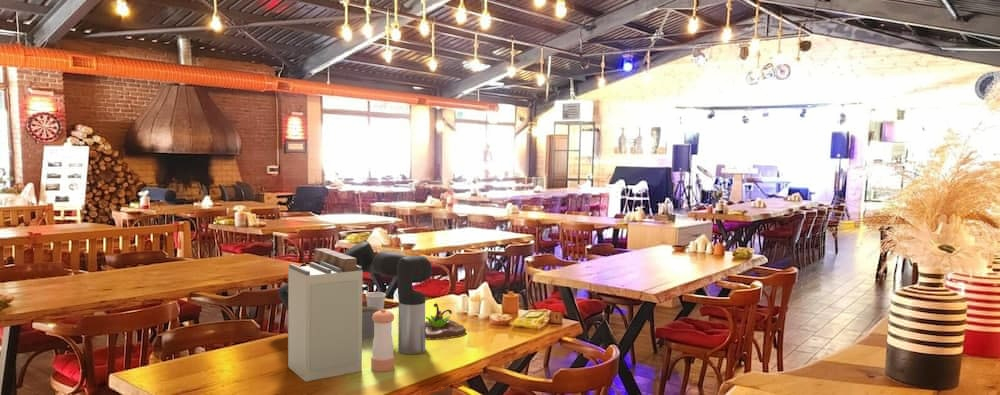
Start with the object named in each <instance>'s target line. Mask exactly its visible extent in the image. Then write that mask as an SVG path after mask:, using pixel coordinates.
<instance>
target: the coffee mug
mask: <svg viewBox="0 0 1000 395" xmlns="http://www.w3.org/2000/svg"><path fill="white" fill-rule="evenodd" d="M377 311H378V309H377V308H375V307H367V306H362V340H370V339H374V323H375V322H373V320H372V316H373V314H374V313H375V312H377Z"/></svg>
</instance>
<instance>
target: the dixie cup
mask: <svg viewBox="0 0 1000 395" xmlns="http://www.w3.org/2000/svg"><path fill="white" fill-rule="evenodd" d="M386 296H387V294H386V293H385V292H378V291H375V292H368V293H366V294H365V298H366V307H375V308H377V309H378V311H381V309H385V308H384V306H385V300H386Z"/></svg>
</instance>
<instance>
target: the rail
mask: <svg viewBox="0 0 1000 395" xmlns="http://www.w3.org/2000/svg"><path fill="white" fill-rule="evenodd" d="M313 251H314V252H313V253H314V254H313V255H314V256H313V257H314V258H313V260H314V261H313V262H317V263H319V264H320V262H321V261H323V262H326V263H329V264H331V265H334V266H336V267H339V268H342V272H352V271H356V269H357V258H354V257H351V256H348V255H345V254H343V252H339V251H336V250H333V249H330V248H325V247H324V248H314V249H313Z"/></svg>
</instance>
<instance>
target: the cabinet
mask: <svg viewBox="0 0 1000 395" xmlns="http://www.w3.org/2000/svg"><path fill="white" fill-rule="evenodd" d="M363 273H364V272H363V271H362V267H361V266H358V265H357V269H356V271H352V272H342V268H339V267H336V266H334V265H331V264H329V263H326V262H323V261H321V262H320V263H319V264H318V263H316V262H315V261H312V262H311V261H309V265H308V266H307V265H306V266H304V267H300V266H298V265H297V264H294V263H289V264H288V274H287V275H288V281H287V283H288V310H287V315H288V329H287V331H288V334H287V336H288V338H287V339H288V340H287V342H288V343H287V349H288V351H287V352H288V353H287V356H288V358H287V359H288V360H287V361H288V362H287V363H288V364H287V366H288V368H289V370H291V371H292V372H294V374H296V375H297V376H299V377H300V378H301V379H302V380H303V381H304V383H305V382H310V381H315V380H320V379H326V378H332V377H337V376H341V375H342V376H343V375H348V374H352V373H354V374H355V373H358V372H362V371H363V370H362V369H363V368H362V366H363V362H362V361H363V359H362V358H363V356H362V354H363V339H362V307H363Z"/></svg>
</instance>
